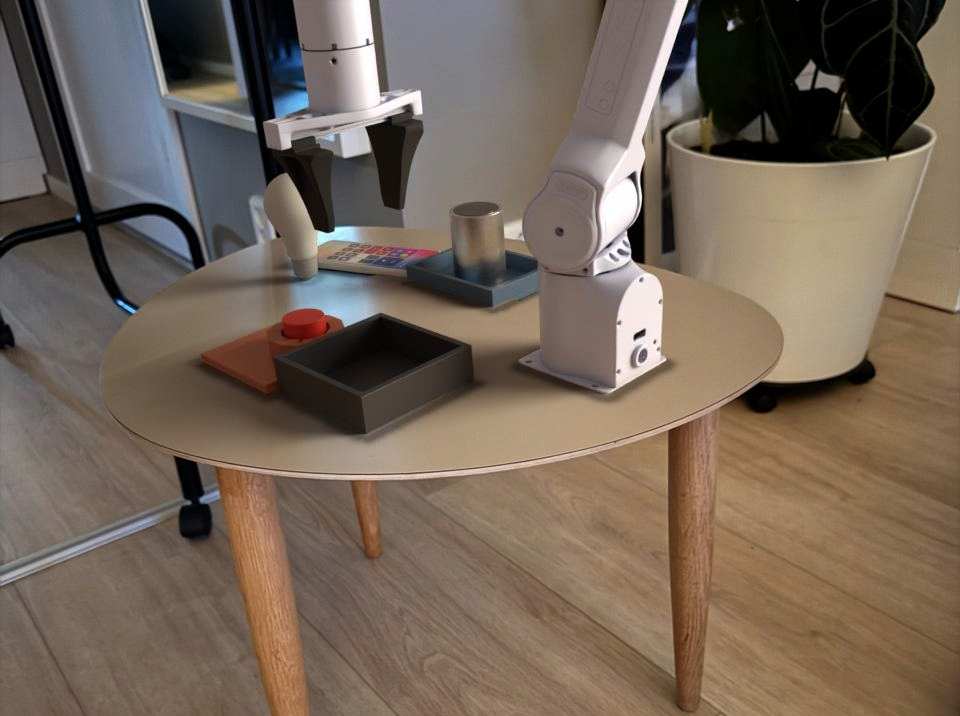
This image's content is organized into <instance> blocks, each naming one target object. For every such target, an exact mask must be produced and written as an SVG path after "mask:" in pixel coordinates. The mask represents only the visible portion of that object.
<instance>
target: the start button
mask: <svg viewBox="0 0 960 716" xmlns="http://www.w3.org/2000/svg"><path fill="white" fill-rule="evenodd" d="M325 315H326V314H325V312H324V311H323V310H321V309H318V308H313V307H311V308H310V307H309V308H308V307H307V308H306V307H305V308H300V309H295V310H292V311H289V312H287V313H285V314H284V315H283V316H282V317H281V321H282V325H283V330H284V335H285V338H288V339H295V340H304V339H310V338H315V337H318V336H320V335H322V334H325V333H326V332H327V327H326V321H325Z"/></svg>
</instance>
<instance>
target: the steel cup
mask: <svg viewBox="0 0 960 716" xmlns="http://www.w3.org/2000/svg"><path fill="white" fill-rule="evenodd" d="M448 213H449V227H450V239H451V240H450V241H451V248H452V252H453V264H454V276H455V277H456V278H459V279H462V280H466V281H469V282H472V283H476V284H479V285H482V286H486V287H490V286H494V285H497V284H500V283H502V282H503V281H504V280H505V279H506V258H505V250H506V241H505V240H506V239H505V222H504V221H505V220H504V206H503V205H501V204H500V203H498V202H494V201H487V200H485V201H484V200H477V201H468V202H462V203H459V204H456V205H453V206H452V207H450V209H449V210H448Z"/></svg>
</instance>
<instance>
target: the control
mask: <svg viewBox="0 0 960 716" xmlns="http://www.w3.org/2000/svg"><path fill="white" fill-rule="evenodd" d="M324 315H325V321H326V327H327V332H326V333H325V334H322V335H320V336H318V337H315V338H310V339H304V340H295V339H288V338H285V335H284V330H283V325H282V320H281V321H278V322H276V323H274V324H273V325H270V326H267V327H265V328H263V329H260V330H257V331H255V332H252V333H249V334H247V335H245V336H242V337H240V338H236V339H235V340H232V341H229V342H226V343H223V344H222V345H219V346H217V347H214V348H211V349H209V350H206V351H204V352H201V353H200V357H201V362H202V363H205V364H206V365H209V366H211V367H212V368H214V369H216V370H218V371H220V372H222V373H224V374H226V375H228V376H230V377H232V378H234V379H237V380H238V381H240V382H242V383H244V384H246V385H248V386H250V387H252V388H254V389H256V390H258V391H260V392H262V393H264V394H266V395H268V394H270V393H273V392H274V391H276V390H279V387H278V382H277V377H276V372H275V367H274V362H273V357H274V356H276V355H279V354H281V353H283V352H286V351H288V350H291V349H293V348H296V347H298V346H300V345H303V344H305V343H308V342H310V341H313V340H315V339H317V338H320V337H322V336H325V335H327V334H330V333H332V332H334V331H337V330H339V329H342V328H344V327H345V325H344V321H343V320H342V319H341V318H339V317H335V316H333V315H331V314H324Z"/></svg>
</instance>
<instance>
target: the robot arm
mask: <svg viewBox="0 0 960 716" xmlns="http://www.w3.org/2000/svg"><path fill="white" fill-rule="evenodd" d="M292 3H293V8H294V15H295V21H296V22H295V23H296V28H297V29H296V30H297V34H298V41H299V47H300V54H301V61H302V67H303V75H304V81H305V87H306V94H307V101H308V103H307V106H306V107H303V108H301V109H298V110H295V111H292V112H290V113H287V114H284V115H282V116H278V117H276V118H272V119H268V120H265V121H263V122H262V125H263V130H264V137H265V142H266V147H267V148H268V149H271V151H272V155H273V157H274V158H275V159H276V161H277V162H278V163H279V164H280V166H281V167H282V169H283V170H284V171H285V173H287V174H288V176H289V177H290V179H291V180H292V182H293V184H294V185H295V187H296V189H297V191H298V193H299V195H300V197H301V199H302V201H303V203H304V205H305V207H306V209H307V212H308V214H309V217H310V219H311V222H312V225H313V227H314V230H317V231H318V232H321V233H324V234H331V233H335V231H336V230H335V229H336V219H335V210H334V204H333V195H332V167H333V159H334V151H333V150H331V149H327V148H323V147H321V143H320V142H318V143H317V140H318V139H323V138H325V137H330V136H333V135H337V134H341V133H345V132H349V131H353V130H357V129H361V128H364V129H365V131H366V134H367V136H368V139H369V142H370V146H371V148H372V152H373V156H374V159H375V163H376V168H377V169H376V170H377V175H378V184H379V190H380V197H381V200H382V203H383V207H385V208H388V209H393V210H397V211H401V210H404V209H405V204H406V198H407V190H408V183H409V177H410V173H411V168H412V164H413V160H414V157H415V154H416V151H417V148H418V146H419V143H420V141H421V140H422V138H423V135H424V133H425V130H424V129H425V128H424V121H423V120H422V119H416V118H413V117H416V116H421V115H423V114H424V113H423V103H422V101H423V100H422V91H421V90H420V89H415V88H414V89H413V88H408V87H407V88H406V87H405V88H401V89H396V90H390V91H384V92H380V85H379V84H380V82H379V74H378V66H377V57H376V49H375V42H374V41H375V39H374V33H373V32H374V31H373V22H372V15H371V14H372V13H371V5H370V0H292ZM688 3H689V0H606V1H605V4H604V9H603V13H602V17H601V20H600V23H599V26H598V30H597V34H596V37H595V41H594V44H593V48H592V52H591V55H590V59H589V62H588V66H587V69H586V73H585V77H584V80H583V83H582V88H581V91H580V94H579V97H578V102H577V104H576V108H575V112H574V115H573V119H572V122H571V126H570V129H569V130H568V133H567V135H566V137H565V138H564V140H563V141H562V143H561V145H560V146H559V147H558V149H557V151H556V153H555V155H554V157H553V158H552V160H551V162H550V163H549V166H548V170H547V173H546V177H545V180H544V181H543V184H542V186H541V187H540V188H539V190H538V191H537V192H536V193H535V194H534V195H533V196H532V197H531V198H530V200H529V201H528V202H527V204H526V205H525V208H524V210H523V213H522V218H521V233H522V237H523V241H524V243H525V246H526V247H527V249H528V251H529V252H530V254H531V255H532V257H535V258H536V259H537V260H538V291H537V295H538V319H539V321H538V322H539V323H538V324H539V348H538V349H537V350H535V351H532V352H530V353H529V354H527V355H525V356H523V357H521V358H519V359H518V364H520V365H522V366H525V367H528V368H531V369H533V370H536V371H538V372H541V373H543V374H544V373H545V374H547V375H550V376H552V377H555V378H558V379H561V380H564V381H566V382H569V383H572V384H574V385H576V386H580V387H583V388H585V389H589V390H591V391H593V392H597V393H599V394H602V395H607V394H611V393H613V392H614V391H616V390H618V389H620V388H621V387H624V386H625V385H627V384H628V383H630V382H632V381H633V380H635V379H637V378H639V377H640V376H642V375H644V374H646V373H647V372H649V371H650V370H653V369H654V368H656V367H658V366H660V365H662V363H664V362H666V361H667V357H666V356H664V355H662V337H663V335H662V333H663V309H664V293H663V288H662V287H663V286H662V285H661V282H660V280H659V279H658V277H657V276H656V275H654V274H652V273H650V272H648V271H646V270H644V269H642V268H641V267H639V265H637V264H636V262H635V261H634V260H633V259H632V249H631V243H630V241H629V237H628V229H629V228H631V226H633V224H634V223H635V222H636V220H637V218H638V217H639V214H640V212H641V208H642V201H643V195H642V194H643V193H642V187H641V173H642V169H643V166H644V162H645V160H646V152H645V151H646V150H645V147H644V145H643V137H644V134H645V132H646V129H647V125H648V122H649V120H650V117H651V114H652V110H653V108H654V105H655V101H656V99H657V95H658V93H659V89H660V86H661V84H662V81H663V77H664V75H665V71H666V68H667V65H668V62H669V59H670V56H671V53H672V50H673V47H674V45H675V41H676V38H677V34H678V32H679V29H680V26H681V23H682V19H683V17H684V14H685V11H686V8H687V6H688Z"/></svg>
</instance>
